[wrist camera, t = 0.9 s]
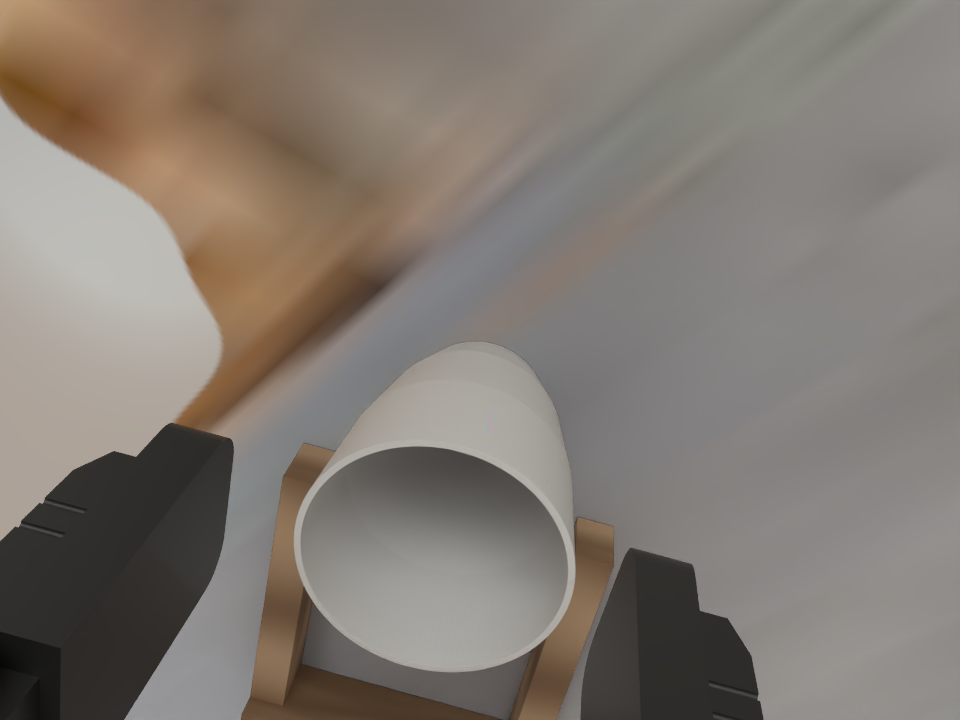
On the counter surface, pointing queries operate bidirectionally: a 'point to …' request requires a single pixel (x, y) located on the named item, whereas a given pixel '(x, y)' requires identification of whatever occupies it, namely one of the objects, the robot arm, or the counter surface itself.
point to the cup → (445, 517)
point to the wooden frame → (378, 710)
